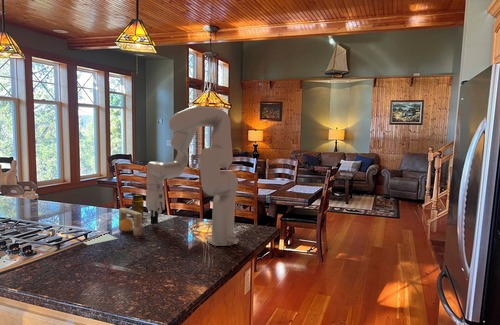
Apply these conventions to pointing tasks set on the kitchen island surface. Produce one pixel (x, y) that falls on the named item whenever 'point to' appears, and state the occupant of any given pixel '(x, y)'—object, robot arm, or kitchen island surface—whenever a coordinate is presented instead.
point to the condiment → (137, 205)
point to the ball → (126, 225)
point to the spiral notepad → (100, 239)
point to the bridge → (137, 219)
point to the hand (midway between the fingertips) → (154, 223)
